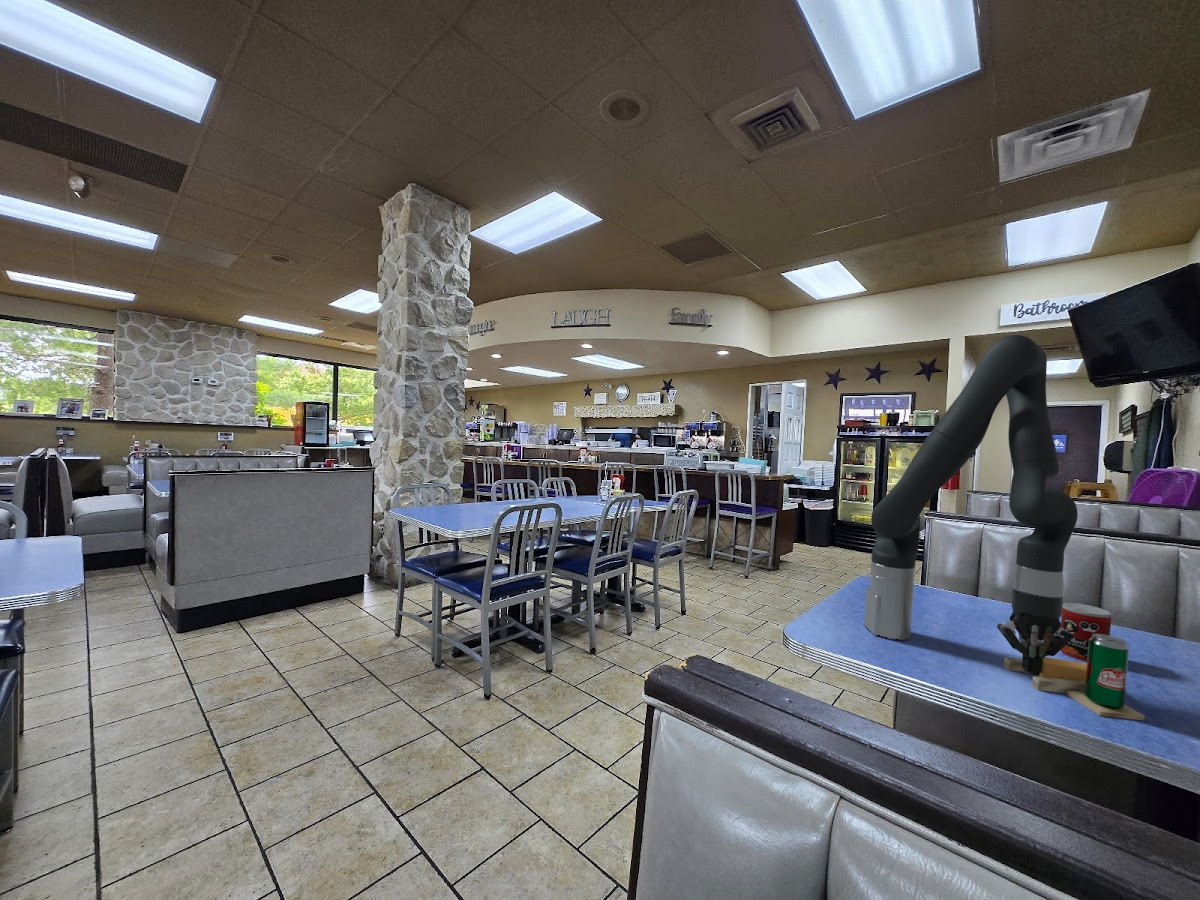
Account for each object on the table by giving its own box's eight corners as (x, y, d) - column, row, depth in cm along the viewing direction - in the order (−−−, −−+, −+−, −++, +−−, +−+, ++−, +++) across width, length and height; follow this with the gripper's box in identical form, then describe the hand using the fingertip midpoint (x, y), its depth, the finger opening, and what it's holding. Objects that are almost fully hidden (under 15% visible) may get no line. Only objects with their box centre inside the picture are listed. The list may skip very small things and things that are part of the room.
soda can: (1098, 708, 87) (1103, 642, 86) (1077, 693, 92) (1081, 631, 91) (1132, 712, 86) (1137, 646, 85) (1108, 697, 91) (1113, 634, 90)
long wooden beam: (1043, 683, 98) (1044, 663, 98) (1033, 674, 101) (1035, 655, 101) (1107, 694, 94) (1109, 674, 94) (1095, 684, 98) (1096, 665, 98)
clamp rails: (1038, 690, 94) (1038, 680, 94) (1003, 666, 104) (1004, 657, 103) (1122, 698, 92) (1122, 688, 92) (1079, 673, 102) (1080, 664, 102)
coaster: (1099, 715, 86) (1100, 711, 86) (1067, 694, 93) (1067, 690, 93) (1144, 720, 85) (1144, 715, 85) (1108, 698, 92) (1108, 694, 92)
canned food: (1049, 648, 114) (1053, 602, 114) (1080, 648, 115) (1084, 602, 114) (1085, 663, 107) (1088, 614, 106) (1117, 663, 107) (1121, 614, 107)
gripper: (1059, 586, 100) (1053, 668, 101) (989, 581, 102) (983, 661, 103) (1090, 598, 93) (1083, 686, 94) (1014, 592, 95) (1008, 679, 95)
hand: (1031, 673), depth 98 cm, fingers closed
